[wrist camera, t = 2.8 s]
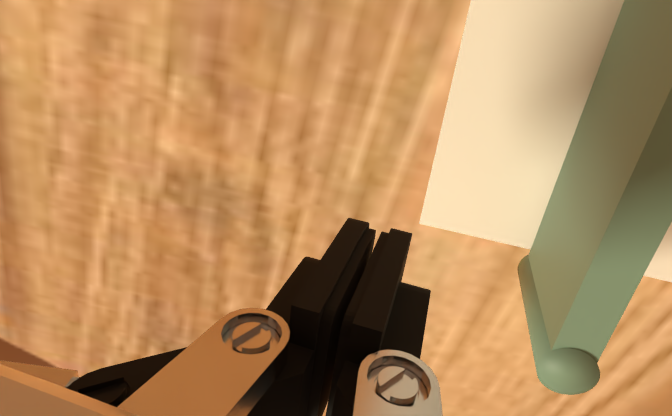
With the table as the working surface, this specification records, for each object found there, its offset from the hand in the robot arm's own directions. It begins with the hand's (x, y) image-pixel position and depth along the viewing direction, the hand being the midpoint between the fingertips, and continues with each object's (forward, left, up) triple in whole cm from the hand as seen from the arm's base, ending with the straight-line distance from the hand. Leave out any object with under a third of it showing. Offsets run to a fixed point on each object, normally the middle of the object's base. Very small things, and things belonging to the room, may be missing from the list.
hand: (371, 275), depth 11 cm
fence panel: (-3, +6, -7) cm, 10 cm away
